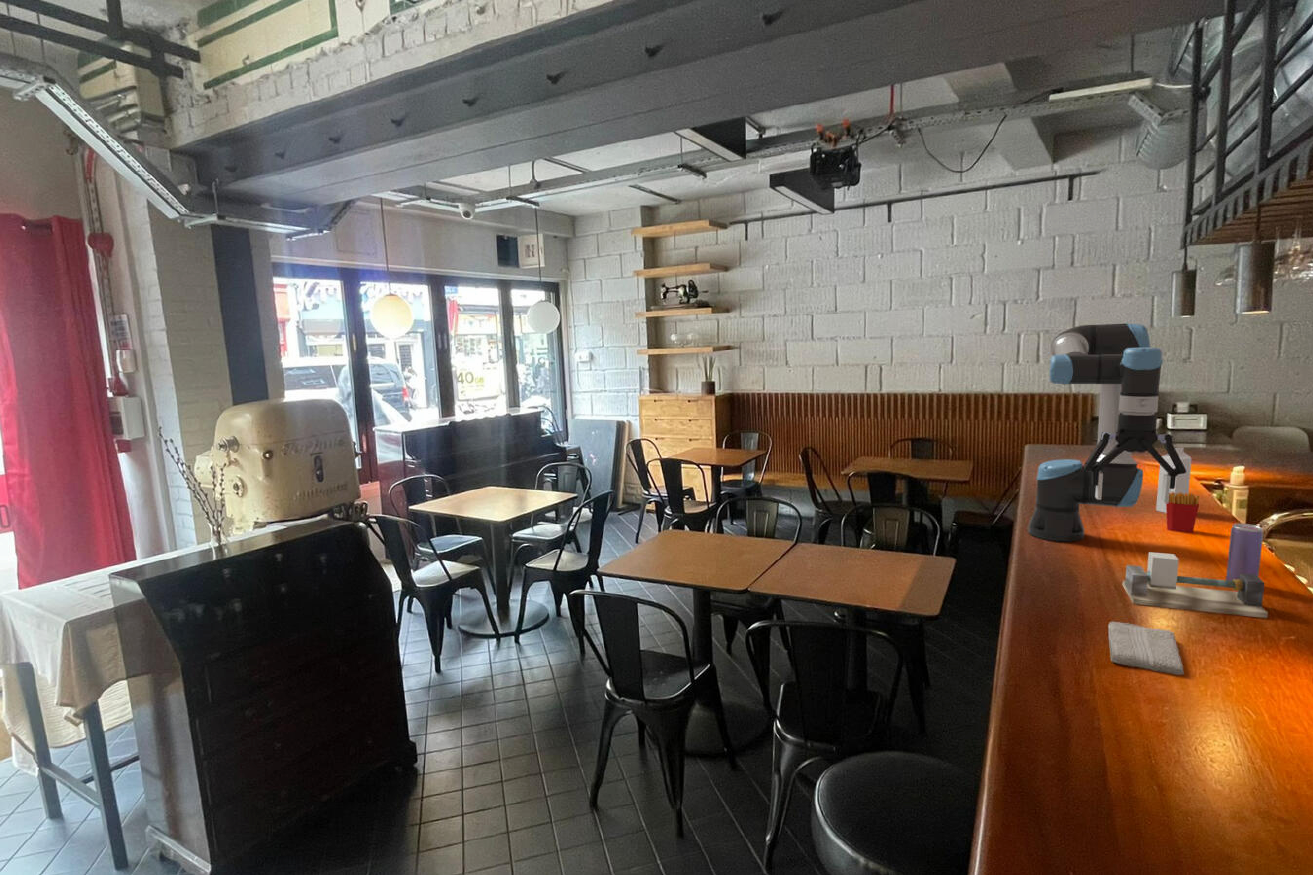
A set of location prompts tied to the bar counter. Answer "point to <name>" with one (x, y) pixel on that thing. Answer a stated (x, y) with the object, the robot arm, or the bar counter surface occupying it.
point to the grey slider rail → (1199, 594)
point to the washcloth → (1144, 648)
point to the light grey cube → (1162, 570)
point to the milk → (1180, 480)
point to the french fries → (1182, 512)
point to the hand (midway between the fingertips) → (1130, 500)
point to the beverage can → (1244, 551)
